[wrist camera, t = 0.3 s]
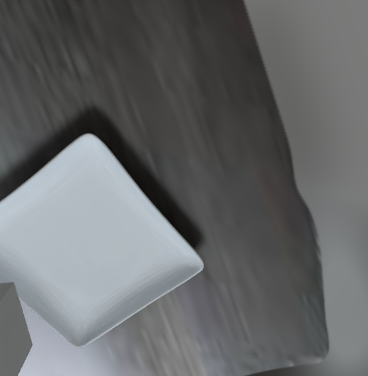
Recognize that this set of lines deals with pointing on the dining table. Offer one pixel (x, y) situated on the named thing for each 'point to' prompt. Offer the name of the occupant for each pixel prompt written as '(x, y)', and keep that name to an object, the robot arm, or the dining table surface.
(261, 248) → the dining table surface
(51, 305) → the salad plate
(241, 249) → the dining table surface
